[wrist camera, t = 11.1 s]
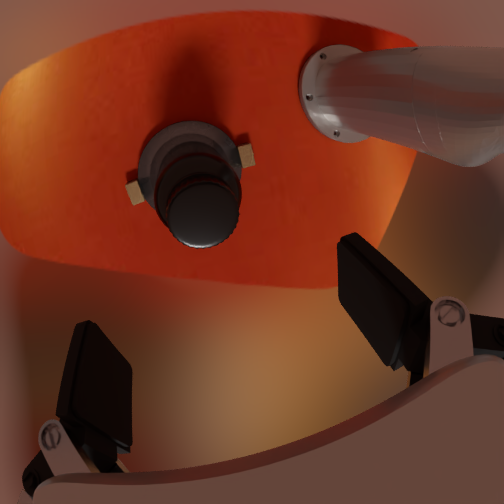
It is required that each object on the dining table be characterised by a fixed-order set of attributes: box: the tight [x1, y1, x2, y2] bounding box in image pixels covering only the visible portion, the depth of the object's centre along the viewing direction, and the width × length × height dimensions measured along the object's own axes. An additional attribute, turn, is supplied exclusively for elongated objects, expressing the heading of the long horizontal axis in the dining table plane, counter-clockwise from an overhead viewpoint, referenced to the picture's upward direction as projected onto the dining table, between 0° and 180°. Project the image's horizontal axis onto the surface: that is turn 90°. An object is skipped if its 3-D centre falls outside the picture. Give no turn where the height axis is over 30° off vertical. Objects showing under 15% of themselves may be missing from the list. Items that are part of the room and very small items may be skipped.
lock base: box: [125, 121, 256, 210], centre depth 27 cm, size 14×11×1 cm
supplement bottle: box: [154, 141, 242, 249], centre depth 22 cm, size 7×7×12 cm
